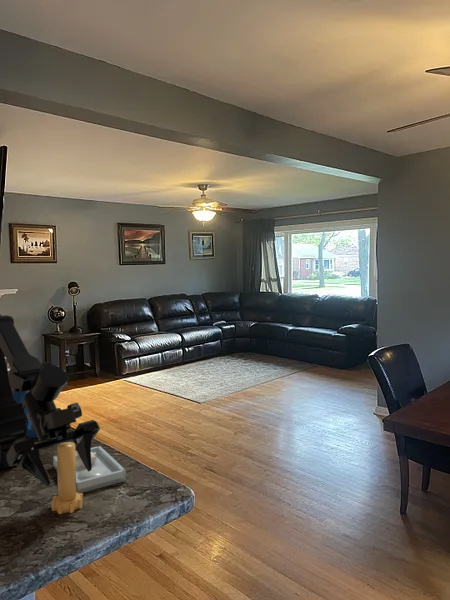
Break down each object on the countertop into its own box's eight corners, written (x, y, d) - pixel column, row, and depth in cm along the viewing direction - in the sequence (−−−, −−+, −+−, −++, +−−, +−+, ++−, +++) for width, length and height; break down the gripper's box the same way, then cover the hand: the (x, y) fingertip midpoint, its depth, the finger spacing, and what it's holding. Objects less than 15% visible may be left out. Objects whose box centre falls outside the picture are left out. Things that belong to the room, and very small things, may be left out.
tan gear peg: (48, 504, 97) (46, 443, 96) (78, 495, 100) (76, 437, 99) (56, 517, 92) (54, 453, 91) (87, 508, 95) (85, 446, 94)
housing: (53, 466, 116) (52, 446, 115) (100, 455, 122) (99, 437, 122) (74, 495, 101) (73, 473, 100) (126, 480, 108) (125, 460, 107)
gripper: (10, 402, 90) (37, 474, 84) (94, 384, 104) (124, 445, 97) (-5, 431, 96) (20, 501, 89) (77, 411, 110) (104, 470, 103)
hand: (70, 477), depth 95 cm, fingers open, 9 cm apart
